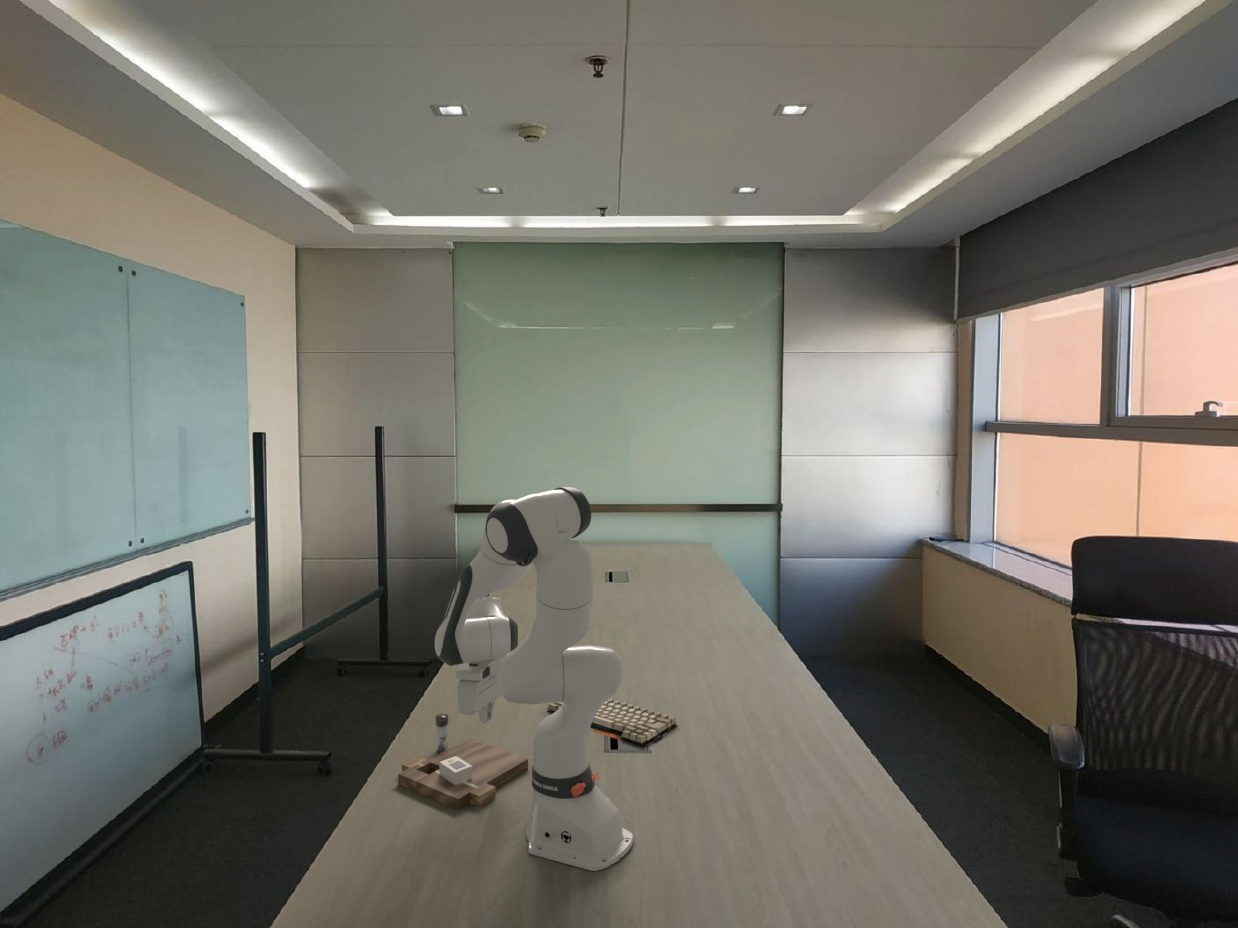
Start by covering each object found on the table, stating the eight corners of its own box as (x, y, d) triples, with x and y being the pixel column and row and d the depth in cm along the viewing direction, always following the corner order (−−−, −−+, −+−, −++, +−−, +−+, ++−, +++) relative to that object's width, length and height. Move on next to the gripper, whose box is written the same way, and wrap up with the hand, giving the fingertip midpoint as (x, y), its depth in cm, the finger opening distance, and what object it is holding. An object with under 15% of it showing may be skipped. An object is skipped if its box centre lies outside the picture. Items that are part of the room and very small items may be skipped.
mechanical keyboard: (538, 716, 212) (538, 704, 212) (579, 696, 228) (579, 686, 227) (645, 751, 190) (646, 739, 190) (683, 727, 205) (683, 715, 205)
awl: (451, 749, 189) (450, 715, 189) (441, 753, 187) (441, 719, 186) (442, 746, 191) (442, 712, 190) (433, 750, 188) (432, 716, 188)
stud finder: (472, 778, 169) (472, 765, 169) (455, 785, 166) (455, 771, 165) (456, 768, 174) (456, 755, 174) (439, 774, 171) (439, 761, 170)
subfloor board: (537, 772, 177) (537, 762, 177) (467, 814, 158) (467, 803, 158) (462, 744, 192) (461, 735, 192) (390, 780, 173) (389, 770, 173)
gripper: (493, 651, 185) (493, 705, 185) (452, 673, 166) (452, 734, 166) (515, 652, 184) (516, 707, 184) (477, 676, 164) (477, 737, 164)
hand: (485, 720), depth 175 cm, fingers closed
